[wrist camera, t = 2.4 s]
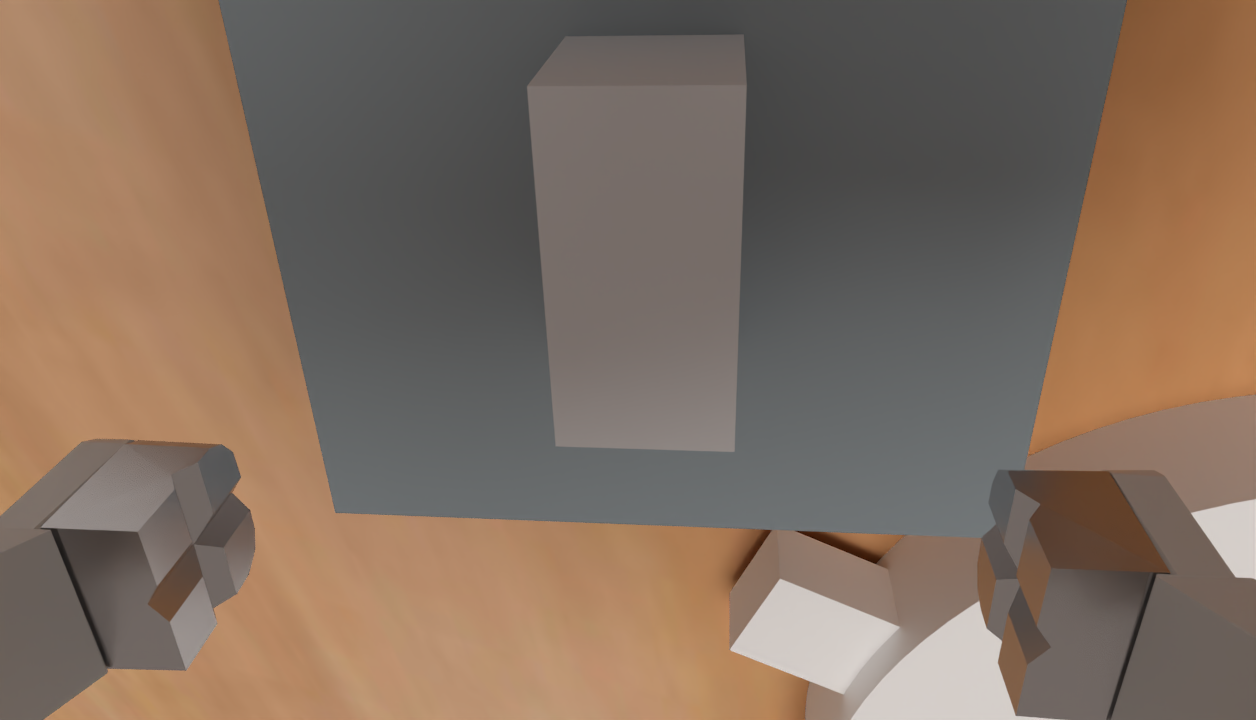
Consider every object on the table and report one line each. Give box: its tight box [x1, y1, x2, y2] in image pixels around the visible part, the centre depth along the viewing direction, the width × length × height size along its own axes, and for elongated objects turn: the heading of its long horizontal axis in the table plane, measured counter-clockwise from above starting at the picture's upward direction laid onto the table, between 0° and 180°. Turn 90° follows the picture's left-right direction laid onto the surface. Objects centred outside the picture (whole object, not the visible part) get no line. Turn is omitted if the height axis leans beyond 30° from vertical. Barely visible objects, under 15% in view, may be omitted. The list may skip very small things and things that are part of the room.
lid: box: [219, 0, 1127, 538], centre depth 17 cm, size 15×15×5 cm
